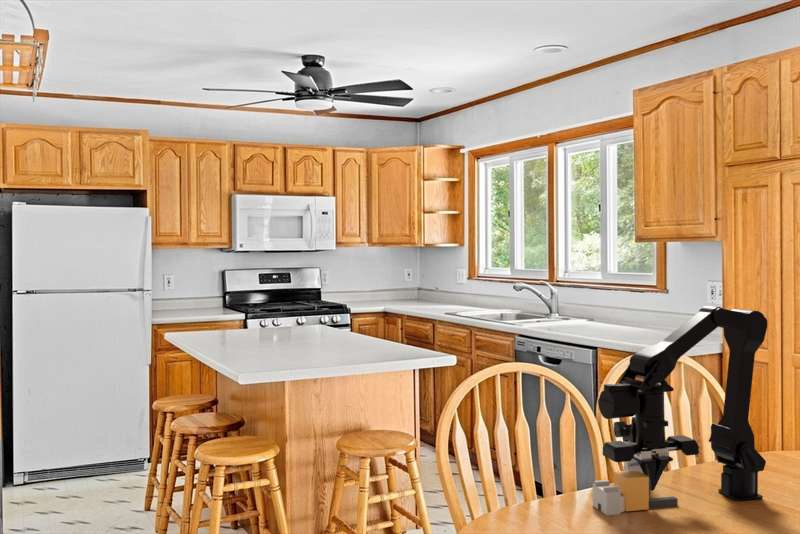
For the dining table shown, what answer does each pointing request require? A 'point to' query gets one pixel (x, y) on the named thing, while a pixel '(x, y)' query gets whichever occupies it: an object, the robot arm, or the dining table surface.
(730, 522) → the dining table surface
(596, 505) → the grey i-beam piece
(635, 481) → the notched orange cube
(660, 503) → the bar
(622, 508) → the cream flat block
